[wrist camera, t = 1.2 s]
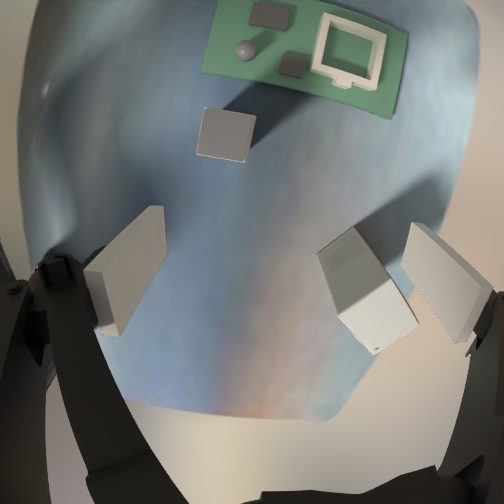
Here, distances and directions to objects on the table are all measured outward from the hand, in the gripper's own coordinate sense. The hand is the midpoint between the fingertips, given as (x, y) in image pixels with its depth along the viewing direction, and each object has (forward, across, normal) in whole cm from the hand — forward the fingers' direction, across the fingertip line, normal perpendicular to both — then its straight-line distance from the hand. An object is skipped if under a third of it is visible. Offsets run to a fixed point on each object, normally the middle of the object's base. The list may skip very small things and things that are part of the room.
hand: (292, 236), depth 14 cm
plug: (+20, -5, +4) cm, 21 cm away
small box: (+20, +11, -11) cm, 26 cm away
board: (+20, +3, +15) cm, 25 cm away
